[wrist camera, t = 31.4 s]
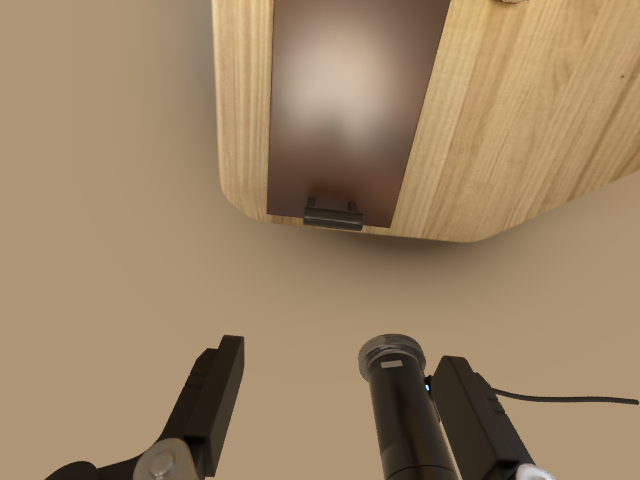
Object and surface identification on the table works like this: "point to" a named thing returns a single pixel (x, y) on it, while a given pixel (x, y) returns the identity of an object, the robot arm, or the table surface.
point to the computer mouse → (516, 0)
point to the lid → (347, 105)
